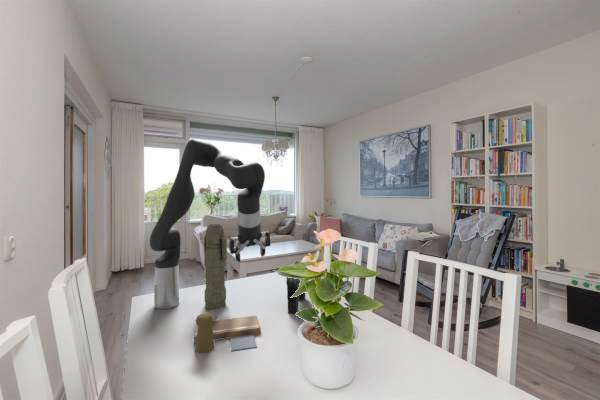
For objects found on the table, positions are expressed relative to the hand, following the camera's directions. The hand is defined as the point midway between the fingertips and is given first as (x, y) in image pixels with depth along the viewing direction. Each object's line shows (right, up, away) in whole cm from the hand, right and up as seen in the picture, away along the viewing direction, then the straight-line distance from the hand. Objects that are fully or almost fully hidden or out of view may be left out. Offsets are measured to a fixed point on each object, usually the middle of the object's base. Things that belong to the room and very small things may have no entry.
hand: (250, 257), depth 105 cm
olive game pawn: (-12, -27, -13) cm, 32 cm away
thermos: (-19, -25, +20) cm, 37 cm away
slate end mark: (-1, -26, -9) cm, 28 cm away
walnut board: (-8, -26, -1) cm, 27 cm away
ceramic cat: (+16, -25, +21) cm, 37 cm away
